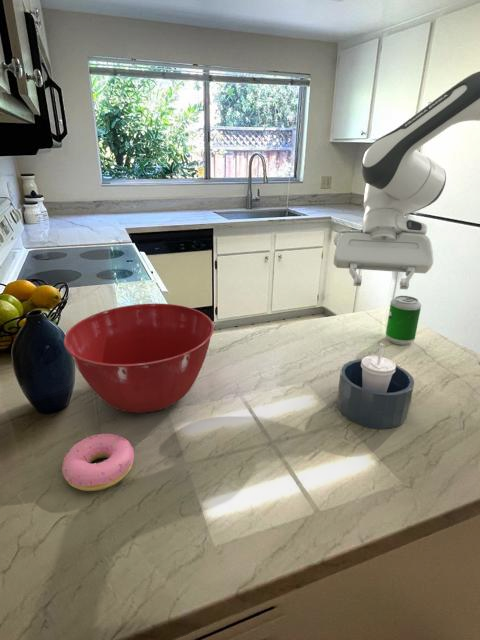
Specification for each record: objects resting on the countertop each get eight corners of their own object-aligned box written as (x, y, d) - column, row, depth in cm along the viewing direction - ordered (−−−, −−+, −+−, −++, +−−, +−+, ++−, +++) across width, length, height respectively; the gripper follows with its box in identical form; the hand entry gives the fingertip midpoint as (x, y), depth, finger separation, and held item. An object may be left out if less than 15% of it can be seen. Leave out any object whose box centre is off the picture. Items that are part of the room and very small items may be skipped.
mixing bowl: (138, 461, 67) (129, 381, 61) (47, 401, 83) (33, 332, 77) (241, 388, 87) (241, 323, 81) (153, 351, 103) (148, 294, 97)
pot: (402, 393, 86) (407, 363, 83) (412, 433, 74) (420, 399, 71) (337, 386, 89) (340, 355, 86) (337, 423, 76) (341, 389, 74)
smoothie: (354, 411, 79) (363, 347, 74) (356, 394, 85) (364, 333, 79) (389, 417, 77) (400, 352, 72) (388, 399, 83) (398, 338, 78)
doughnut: (138, 444, 71) (136, 425, 69) (132, 493, 60) (129, 471, 59) (73, 450, 69) (69, 430, 67) (55, 500, 59) (50, 479, 57)
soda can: (420, 342, 110) (428, 301, 105) (401, 348, 106) (409, 306, 101) (397, 332, 116) (404, 293, 111) (379, 337, 112) (385, 297, 107)
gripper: (335, 220, 89) (330, 275, 84) (435, 224, 85) (436, 282, 80) (334, 237, 94) (329, 289, 89) (426, 241, 90) (427, 296, 85)
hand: (380, 286), depth 84 cm, fingers open, 8 cm apart
